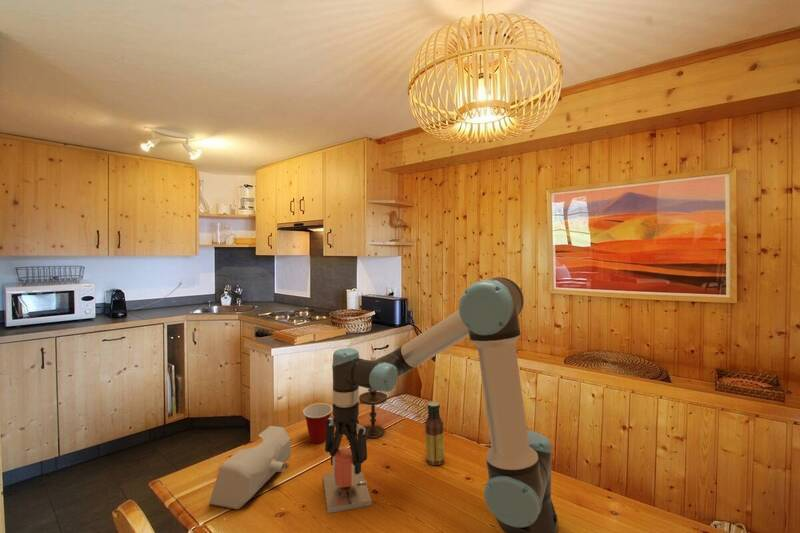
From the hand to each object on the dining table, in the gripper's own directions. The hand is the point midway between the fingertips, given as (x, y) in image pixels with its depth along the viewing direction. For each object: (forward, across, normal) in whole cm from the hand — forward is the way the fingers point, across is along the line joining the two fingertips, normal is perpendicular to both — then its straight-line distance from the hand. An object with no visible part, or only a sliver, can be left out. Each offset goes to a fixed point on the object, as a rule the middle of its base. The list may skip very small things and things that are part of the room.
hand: (345, 479), depth 111 cm
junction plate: (+4, 0, 0) cm, 4 cm away
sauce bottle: (+4, -16, -28) cm, 32 cm away
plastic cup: (+4, +28, -19) cm, 34 cm away
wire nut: (0, 0, 0) cm, 0 cm away
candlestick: (+4, +13, -34) cm, 36 cm away
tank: (+4, +25, +10) cm, 27 cm away
